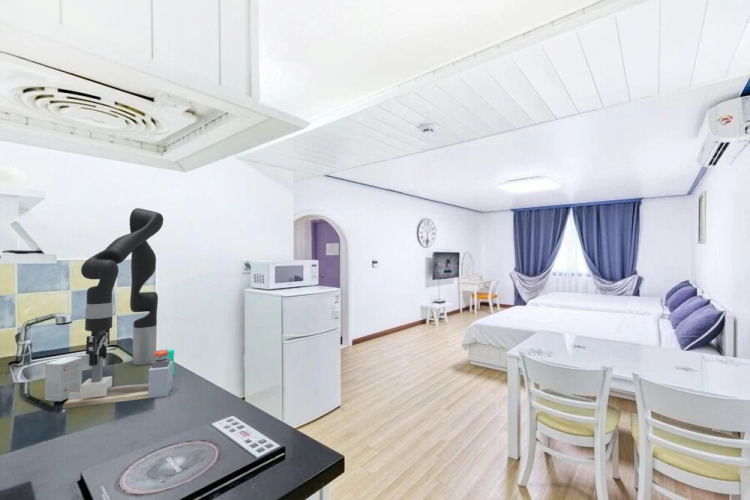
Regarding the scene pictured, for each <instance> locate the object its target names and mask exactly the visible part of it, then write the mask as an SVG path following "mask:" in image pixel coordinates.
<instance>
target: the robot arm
mask: <svg viewBox="0 0 750 500" xmlns="http://www.w3.org/2000/svg"><path fill="white" fill-rule="evenodd" d="M163 224H164V217H163V215H162V213H160V212H157V211H153V210H149V209H144V208H140V207H139V208H138V207H135V208H134V209H132V210H131V213H130V216H129V231H130V233H127V234H124V235H122V236H119V237H117V238H116V239H114V240H113V241H112V242H111V243H110V244H109V245H108V246H107V247H106V248H104V249H103V250H102V251H100V252H97V253H96V254H94V255H93V256H91V257H89V258H88V259H86V260H85V261H84V263H83V264H82V266H81V268H80V273H81V275H82V276H83V277H84V278H85V279H89V280H99V281H98V283H97V285H94V286H90V287H88V288H87V291H86V306H85V310H84V311H85V313H84V314H85V317H84V320H85V321H84V330H85V331H86V332H90V333H91V334H90V336H89V335H88V336H86V342H85V343H86V346H85V355H88V364H89V365H88V366H89V367H92V366H95V365H97V364H98V357H103V360H105V359H106V358H107V356H108V355H107V354H108V352H107V350H108V349H107V348H108V347H109V345H110V343H111V342H110V341H111V338H110V335H111V333H110V332H111V328H112V327H113V291H114V288H115V284H116V281H117V278H118V276H119V264H121V263H122V262H124V261H125V260H126V258H128V257H129V255H131V257H130V258H131V259H130V260H131V261H130V263H131V264H130V266H131V267H130V270H131V272H130V273H131V285H130V288H131V289H130V299H129V307H130V311H131V312H132V313H146V312H147V313H148V312H149V313H148V314H146V315H145V316H142V317H141V318H137V319H136V320H134V321H133V327H132V328H133V332H132V333H133V334H132V337H133V338H132V365H134V366H143V365H150V364H152V362H153V361H154V359H157V357H155V356H154V352H155V351H157V335H158V332H157V331H158V330H157V329H158V328H157V327H158V326H157V325H158V323H157V322H158V321H157V320H158V319H157V317H158V303H159V295H158V293H157V292H155V291H148V292H147V291H144V292H143V291H141V289H142V288H143V286H144V285H145V284H146V282H147V281H148V280H149V279H150V278H152V276H153V275H154V273H155V271H156V269H157V257H156V253H155V252H154V250H153V248H152V247H151V246H150V244H149V243H148V240H149V239H150V238H151V237H153V236H155V234H157V233H158V232H159V231H160V230H161V229H162V228H163Z"/></svg>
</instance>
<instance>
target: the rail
mask: <svg viewBox="0 0 750 500" xmlns="http://www.w3.org/2000/svg"><path fill="white" fill-rule="evenodd" d="M143 399H144V400H145V399H149V398H148V383H147V382H146V383H138V384H129V385H127V384H126V385H120V386H111V387H109V388H108V389H107V395H106V396H100V397H92V398H83V399H81V394H80V391H72V392H70V393H69V394H68V398H67V400H66V401H65V402H64V403H63V407H62V408H63V409H70V408H79V407H86V406H94V405H95V406H96V405H104V404H112V403H120V402H129V401H136V400H143Z"/></svg>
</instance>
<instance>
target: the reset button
mask: <svg viewBox="0 0 750 500" xmlns="http://www.w3.org/2000/svg"><path fill="white" fill-rule="evenodd" d="M167 355H168V350H165V349H160V350H156V351H155V352H154V356H155V357H156V358H158V357H159V361H164V356H167Z"/></svg>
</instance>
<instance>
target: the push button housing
mask: <svg viewBox="0 0 750 500" xmlns="http://www.w3.org/2000/svg"><path fill="white" fill-rule="evenodd" d="M147 382H148V398H147V399H152V398H153V399H154V398H162V397H167V396H168V395H169V393H170V392H171V390H172V388H173V376H172V361H170V358H164V361H159V359H158V358H156V359H154V361H153V362H152V363H151V367H150V368H149V369H148V381H147Z"/></svg>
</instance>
